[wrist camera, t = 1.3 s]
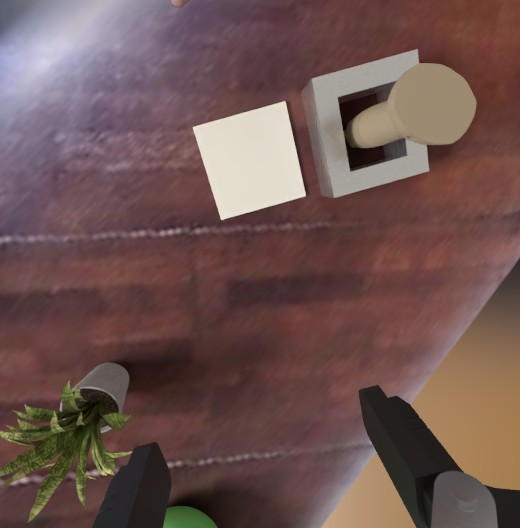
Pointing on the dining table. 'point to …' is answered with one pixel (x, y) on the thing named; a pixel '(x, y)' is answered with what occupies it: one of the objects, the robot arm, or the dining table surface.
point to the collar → (331, 131)
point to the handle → (417, 110)
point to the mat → (251, 160)
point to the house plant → (72, 431)
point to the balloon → (179, 3)
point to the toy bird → (186, 518)
